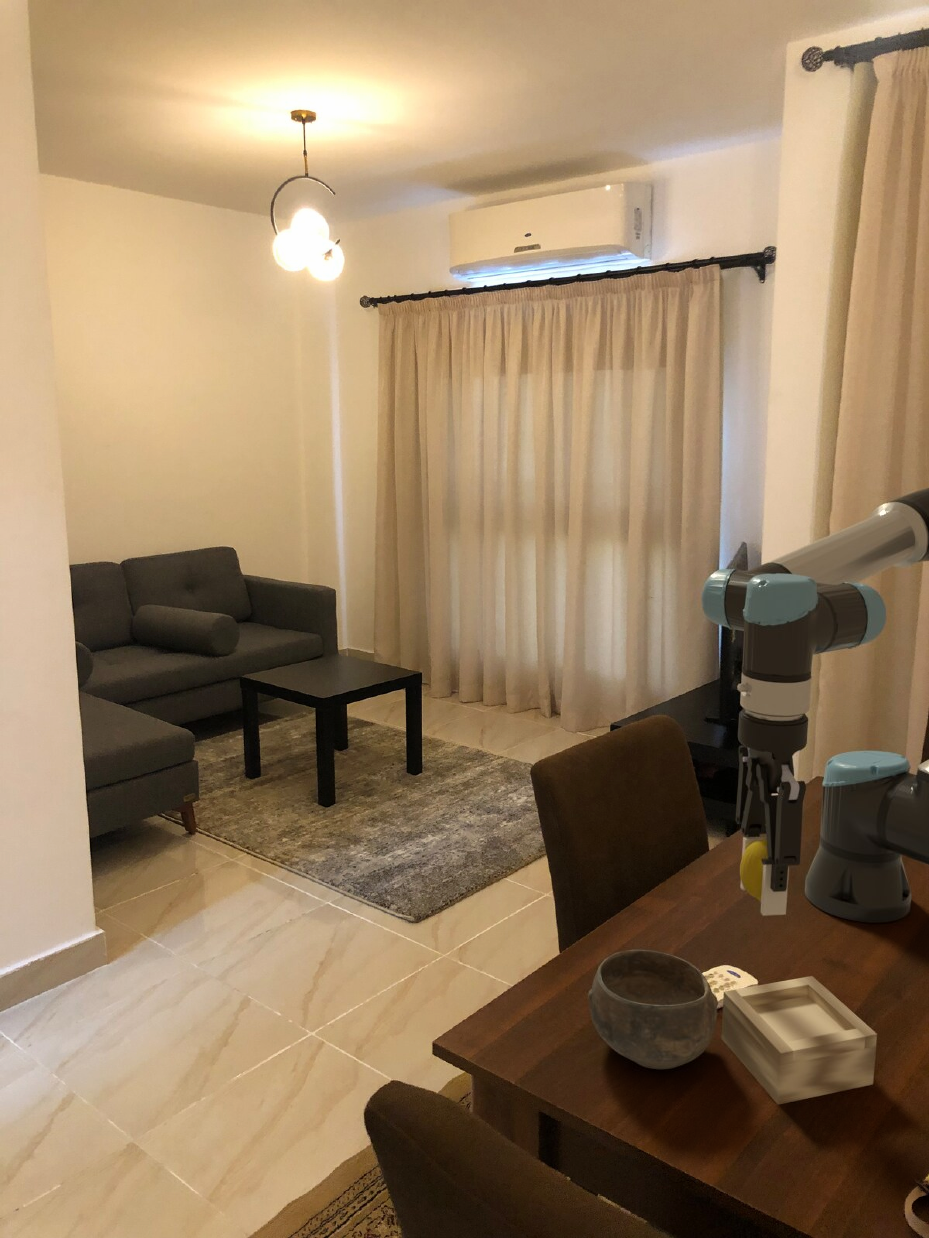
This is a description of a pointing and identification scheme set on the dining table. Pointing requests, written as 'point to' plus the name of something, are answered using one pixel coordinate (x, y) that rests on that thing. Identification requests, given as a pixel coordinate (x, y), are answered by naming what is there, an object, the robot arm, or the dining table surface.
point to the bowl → (653, 1008)
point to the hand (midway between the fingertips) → (762, 900)
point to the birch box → (798, 1039)
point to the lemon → (754, 868)
